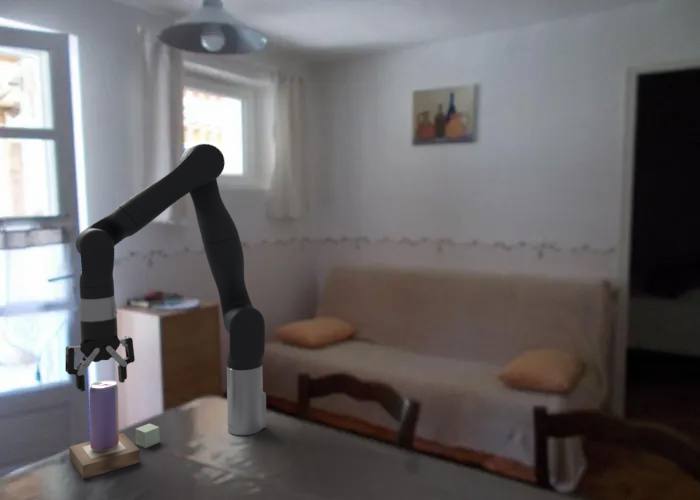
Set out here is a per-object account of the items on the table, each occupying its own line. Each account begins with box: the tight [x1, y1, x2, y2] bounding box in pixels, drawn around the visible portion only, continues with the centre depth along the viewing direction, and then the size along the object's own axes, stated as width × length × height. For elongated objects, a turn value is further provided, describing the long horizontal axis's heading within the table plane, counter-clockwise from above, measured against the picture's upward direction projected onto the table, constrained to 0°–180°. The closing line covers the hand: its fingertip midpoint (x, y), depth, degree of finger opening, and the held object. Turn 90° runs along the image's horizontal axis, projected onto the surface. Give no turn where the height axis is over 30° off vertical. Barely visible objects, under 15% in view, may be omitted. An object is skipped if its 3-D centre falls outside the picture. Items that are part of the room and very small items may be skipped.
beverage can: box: [88, 379, 120, 452], centre depth 123 cm, size 6×6×15 cm
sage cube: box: [134, 423, 161, 449], centre depth 132 cm, size 4×4×4 cm
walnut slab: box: [68, 432, 141, 480], centre depth 123 cm, size 12×12×3 cm
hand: (102, 386), depth 122 cm, fingers open, 8 cm apart
